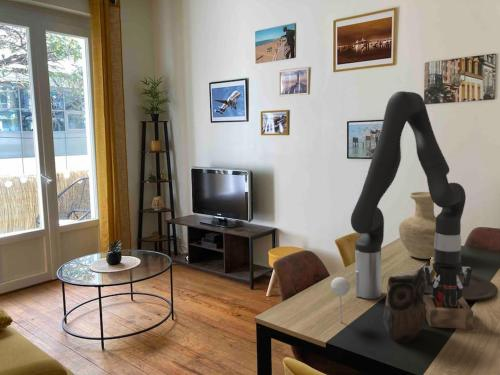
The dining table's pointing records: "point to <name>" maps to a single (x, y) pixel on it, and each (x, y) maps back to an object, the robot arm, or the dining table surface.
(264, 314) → the dining table surface
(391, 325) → the owl
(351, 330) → the dining table surface
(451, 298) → the deodorant
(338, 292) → the lollipop
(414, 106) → the robot arm
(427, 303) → the socket block
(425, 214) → the vase
